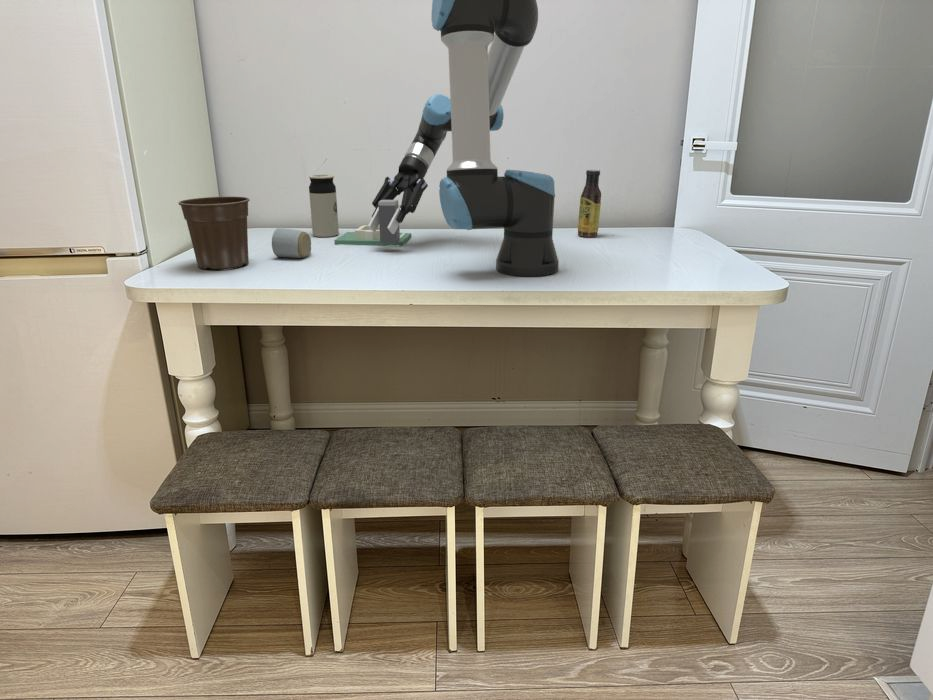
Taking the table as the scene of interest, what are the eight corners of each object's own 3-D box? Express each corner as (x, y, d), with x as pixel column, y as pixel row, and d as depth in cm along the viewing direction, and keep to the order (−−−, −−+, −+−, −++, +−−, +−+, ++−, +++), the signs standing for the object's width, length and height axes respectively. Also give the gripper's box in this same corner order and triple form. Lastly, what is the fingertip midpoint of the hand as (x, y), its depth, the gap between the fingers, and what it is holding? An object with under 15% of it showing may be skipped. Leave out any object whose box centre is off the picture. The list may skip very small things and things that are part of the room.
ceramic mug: (301, 261, 167) (298, 231, 164) (272, 259, 168) (269, 229, 166) (319, 253, 176) (317, 225, 174) (291, 252, 178) (289, 224, 176)
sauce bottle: (573, 235, 201) (577, 169, 194) (590, 233, 204) (594, 168, 197) (585, 238, 196) (589, 171, 189) (602, 237, 198) (607, 170, 191)
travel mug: (308, 236, 199) (302, 176, 192) (320, 232, 206) (316, 174, 200) (331, 238, 196) (326, 177, 190) (343, 233, 204) (339, 174, 197)
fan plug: (396, 242, 176) (394, 201, 172) (380, 242, 176) (378, 201, 173) (399, 240, 180) (398, 199, 176) (384, 239, 180) (382, 199, 177)
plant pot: (179, 264, 163) (169, 199, 158) (241, 255, 173) (234, 194, 167) (201, 276, 152) (191, 206, 146) (267, 266, 161) (260, 200, 156)
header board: (402, 245, 185) (402, 232, 184) (334, 244, 187) (333, 231, 186) (411, 236, 198) (411, 224, 197) (347, 235, 200) (347, 223, 199)
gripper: (449, 174, 180) (415, 241, 172) (395, 171, 189) (361, 235, 182) (437, 155, 174) (402, 224, 166) (383, 153, 183) (347, 218, 176)
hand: (381, 229), depth 174 cm, fingers closed on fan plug, 6 cm apart
